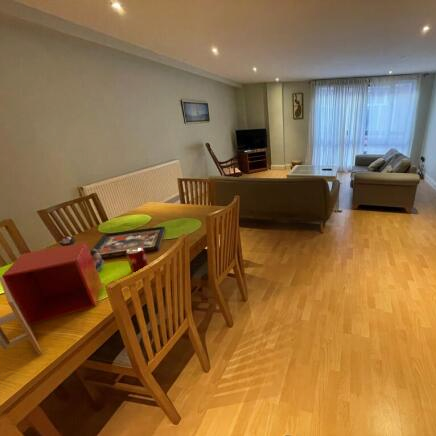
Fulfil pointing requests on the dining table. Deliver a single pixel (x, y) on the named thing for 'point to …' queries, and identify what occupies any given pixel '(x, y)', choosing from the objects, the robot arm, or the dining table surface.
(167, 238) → the dining table surface
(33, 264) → the cabinet
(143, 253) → the soda can
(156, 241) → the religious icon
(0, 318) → the hinged door with handle
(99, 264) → the bison figurine
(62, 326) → the dining table surface
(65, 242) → the sundae
